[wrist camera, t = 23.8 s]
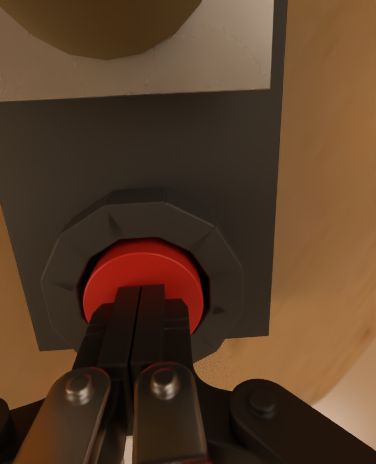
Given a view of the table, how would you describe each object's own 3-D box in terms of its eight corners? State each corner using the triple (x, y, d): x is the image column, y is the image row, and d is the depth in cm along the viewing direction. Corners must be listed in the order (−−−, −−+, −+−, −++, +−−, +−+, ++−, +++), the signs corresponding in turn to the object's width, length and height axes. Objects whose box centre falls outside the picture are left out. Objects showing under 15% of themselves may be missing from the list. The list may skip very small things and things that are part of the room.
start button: (87, 232, 12) (72, 256, 10) (197, 226, 12) (202, 248, 10) (102, 323, 14) (92, 358, 12) (200, 317, 14) (205, 350, 12)
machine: (-52, -177, 10) (-205, -367, 6) (271, -185, 11) (338, -371, 6) (58, 314, 17) (21, 384, 13) (254, 301, 17) (281, 366, 13)
